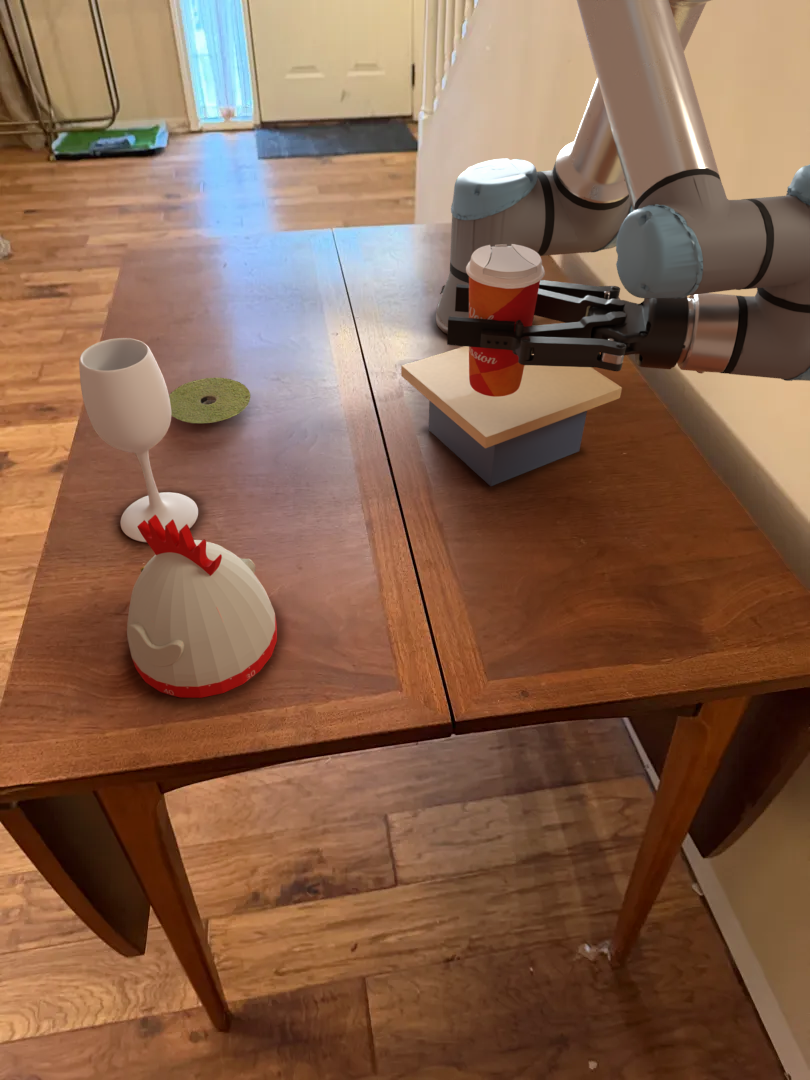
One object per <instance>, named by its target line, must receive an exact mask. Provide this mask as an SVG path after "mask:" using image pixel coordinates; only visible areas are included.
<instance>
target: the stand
mask: <svg viewBox="0 0 810 1080" xmlns="http://www.w3.org/2000/svg"><path fill="white" fill-rule="evenodd" d="M532 355H534V354H532ZM400 369H401V370H400V373H401V374H400V375H401V377H402V378H403V379H404V380H405V381H406V382H407V383H408V384H410V385H411V386H412V387H414V388H415V389H416V390H417V391H418V392H419V393H420V394H422V396H424V397H425V398H426V399H427V400H428V403H429V404H428V431H429V432H430V433H431V434H432V435H433V436H434V437H436V438H437V439H438V440H439V441H440V443H442V444H443V445H444V446H446V447H447V448H448V449H449V451H451V452H452V453H453V454H455V455H456V457H458V458H459V460H461V461H462V462H463V463H464V464H465V465H466V466H467V467H469V468H470V469H471V470H472V471H473V472H474V473H475V474H476V475H478V477H480V478H481V479H482V480H483V481H484V482H485V483H486V484H487V485H489V487H494V486H496V485H498V484H501V483H503V482H506V481H508V480H511V479H513V478H517V477H518V476H521V475H523V474H525V473H528V472H531V471H533V470H535V469H538V468H541V467H544V466H546V465H548V464H551V463H553V462H556V461H559V460H562V459H564V458H566V457H569V456H571V455H573V454H576V453H579V452H580V449H581V445H582V439H583V434H584V429H585V425H586V418H587V413H588V411H589V410H592V409H595V408H597V407H600V406H603V405H605V404H608V403H611V402H613V401H614V402H615V401H616V400H619V399H621V395H622V390H623V387H622V386H620V385H619V384H618V383H616V382H615V381H613V380H611V379H609V378H608V377H607V376H605V375H604V374H602V373H601V372H599V371H598V370H596V369H594V367H565V366H535V365H524V370H523V375H522V380H521V384H520V387H519V389H518V390H517V391H516V392H514V393H512V394H510V395H507V396H500V397H494V396H487V395H483V394H481V393H478V392H477V391H475V390H474V389H473V388H472V387H471V385H470V381H469V347H467V346H459V347H457V348H455V349H451V350H448V351H445V352H441V353H438V354H435V355H431V356H428V357H425V358H421V359H419V360H415V361H412V362H408V363H405V364H402V365H401V366H400Z"/></svg>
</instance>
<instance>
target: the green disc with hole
mask: <svg viewBox="0 0 810 1080" xmlns="http://www.w3.org/2000/svg"><path fill="white" fill-rule="evenodd" d="M169 398H170V404H171V417H173V418H175V419H177V420H178V421H182V422H185V423H189V424H210V423H211V424H212V423H218V422H220V421H221V422H222V421H225V420H228V419H230V418H232V417H236V416H237V415H239V414H241V412H243V411H244V410H245V409H246V408H247V407H248V406H249V403H250V402H251V401H250V400H251V398H252V397H251V392H250V389H248V387H247V386H246V385H244V383H242V382H240V381H238V380H234V379H231V378H227V377H205V378H200V379H195V380H191V381H188V382H187V383H186V382H185V383H183V384H181V385H180V386H178V387H177V388H175V389H174V390H173V391H171V393H169Z"/></svg>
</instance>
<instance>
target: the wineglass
mask: <svg viewBox="0 0 810 1080" xmlns="http://www.w3.org/2000/svg"><path fill="white" fill-rule="evenodd" d="M78 362H79V363H78V365H79V367H78V368H79V383H80V389H81V390H80V391H81V396H82V400H83V401H82V402H83V405H84V408H85V411H86V414H87V417H88V419H89V422H90V424H91V426H92V428H93V430H94V431H95V433H96V435H97V436H98V437H99V439H101V441H103V442H104V443H106V444H107V445H109V446H110V447H111V448H114V449H116V450H119V451H121V452H125V453H132V454H134V455H135V456H136V458H137V460H138V463H139V466H140V468H141V471H142V474H143V478H144V482H145V486H146V491H147V495H145V496H142V497H140V498H139V499H137V500H135V501H134V502H132V503H131V504H130V505H129V506H128V507H127V508H126V509H125V510H124V511H123V513H122V515H121V517H120V528H121V530H122V532H123V533H124V534H125V535H126V536H127V537H128V538H130V539H132V540H134V541H137V542H141V543H147V542H146V540H145V539H144V537H143V536H142V534H141V533H140V531H139V529H138V527H137V526H138V525H139V524H140V523H141V522H143V521H144V520H145V521H146V522H147V523H148V520H150V519H151V518H152V517H153V516H154V515H156V516H157V517H158V519H159V521H160V522H161V524H162V526H163V528H164V530H165V526H166V525H167V524H168V523H169V522H170V521H171V520H172V519H173V520H174V522H175V525H176V527H177V530H178V532H179V531H180V530H181V529H182V528H183V527H184V526H185V525H186V524H187V525H188V527H189V529H190V530H191V528H192V527H193V526H194V525H195V523H196V521H197V520H198V516H199V508H198V505H197V503H196V502H195V501H194V500H193V499H192V498H191V497H189V496H188V495H184V494H183V493H178V492H171V491H165V492H162V491H161V492H159V490H158V487H157V484H156V482H155V478H154V474H153V471H152V467H151V462H150V455H149V454H150V453H149V451H150V450H151V449H152V448H155V446H157V445H158V444H159V443H161V441H162V440H163V439H164V437H165V436H166V435H167V432H168V431H169V428H170V426H171V422H172V416H171V404H170V398H169V395H170V393H169V390H168V387H167V383H166V380H165V378H164V375H163V373H162V371H161V368H160V366H159V364H158V362H157V359H156V358H155V356H154V354H153V352H152V350H151V348H150V346H148V344H146V343H145V342H144V341H141V340H139V339H135V338H131V337H119V338H118V337H115V338H109V339H105V340H102V341H98V342H96V343H94V344H92V345H90V346H88V347H87V348H85V349H84V351H82V353H81V354H80V356H79V361H78Z"/></svg>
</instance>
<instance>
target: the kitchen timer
mask: <svg viewBox="0 0 810 1080" xmlns="http://www.w3.org/2000/svg"><path fill="white" fill-rule="evenodd" d="M137 527H138V529H139V531H140V533H141V534H142V536H143V537H144V539H145V540H146V542H145V543H147V545H148V546H149V547H150V549H151V551H152V552H153V553H154V555H153V556H152V557H151V558H150V559H149V560H148V561H147V563H146V564H145V565H144V566H143V567H141V568H140V574H139V575H138V577H137V579H136V581H135V583H134V585H133V587H132V592H131V595H130V602H129V606H128V607H129V608H128V615H127V623H126V625H127V626H126V636H127V637H126V639H127V643H128V647H129V651H130V656H131V659H132V662H133V665H134V667H135V668H134V669H135V670H136V671H137V673H138V674H139V676H140V677H141V678H142V679H143V681H144V682H145V683H146V684H147V685H149V686H150V687H152V688H154V689H155V690H156V691H158V692H160V693H163V694H165V695H169V696H173V697H178V698H188V699H189V698H190V699H202V698H208V697H213V696H217V695H221V694H225V693H226V692H229V691H231V690H233V689H235V688H238V687H240V686H242V685H244V684H245V683H246V682H248V681H250V680H251V679H252V678H253V677H255V676H256V675H257V674H258V673H260V672H261V670H262V669H263V668H264V666H265V665H266V664H267V662H268V661H269V660H270V659H271V657H272V656H273V653H274V650H275V647H276V644H277V642H278V625H277V623H278V622H277V618H276V613H275V609H274V607H273V605H272V602H271V599H270V597H269V595H268V593H267V591H266V589H265V587H264V586H263V585H262V583H261V581H260V579H259V578H258V577H257V575H256V574H255V573H256V569H257V568H256V564H255V563H254V561H253V560H252V559H250V558H242V557H239V556H238V555H237V554H235V553H234V552H232V551H231V550H228V549H226V548H225V547H224V546H222V545H220V544H217V543H213V542H210V541H207V540H206V539H202V540H201V539H194V536H193V534H192V531H191V528H190V529H189V527H188V525H187V524H186V525H185V526H184V527H183V528H182V529H181V530H180V531H179V532H178V530H177V527H176V525H175V522H174V520H173V519H172V520H171V521H170V522H169V523H168V524H167V525H166V526H165V530H164V528H163V526H162V524H161V522H160V521H159V519H158V517H157V516H156V515H154V516H153V517H152V518H151V519H150V520H148V523H147V522H146V521H145V520H144V521H143V522H141V523H140V524H139V525H138V526H137Z"/></svg>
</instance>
